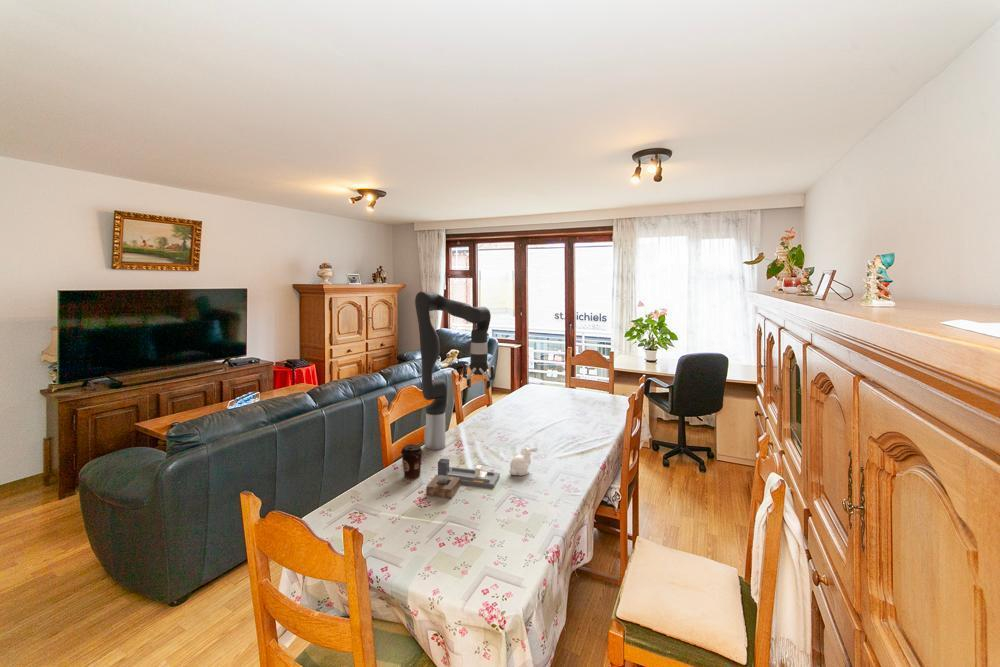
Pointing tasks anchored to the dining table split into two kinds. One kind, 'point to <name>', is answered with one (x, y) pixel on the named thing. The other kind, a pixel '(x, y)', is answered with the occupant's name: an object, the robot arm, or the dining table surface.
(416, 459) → the coffee cup
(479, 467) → the switch slider
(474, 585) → the dining table surface
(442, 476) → the pin tool
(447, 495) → the brown wooden socket block
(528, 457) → the rabbit
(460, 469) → the switch panel
